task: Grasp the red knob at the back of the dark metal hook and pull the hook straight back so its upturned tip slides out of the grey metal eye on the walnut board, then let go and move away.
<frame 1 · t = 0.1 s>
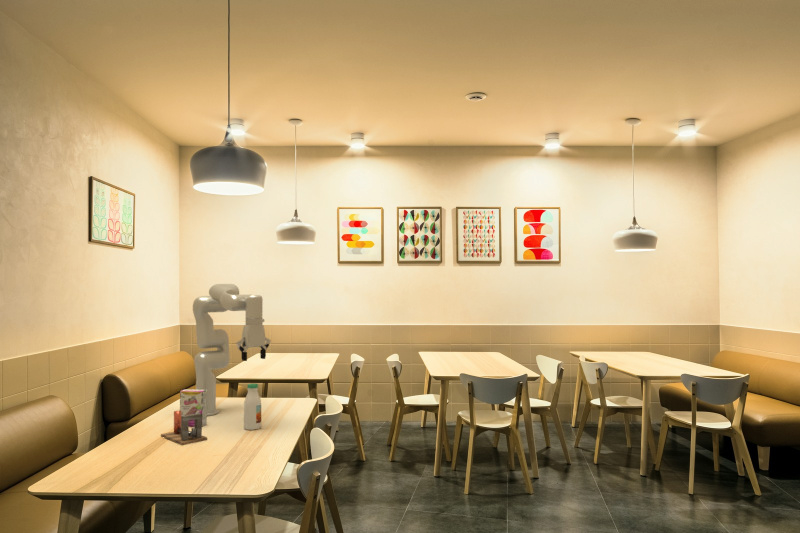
hand: (253, 359, 254), 31 cm above the table, tool pointing down, fingers open, 9 cm apart
eye stand: (183, 438, 237), on the table
milk bottle: (252, 428, 253), on the table
candy bar box: (193, 426, 259), on the table
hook: (185, 424, 237), point 6 cm above the table, slide at 0.0 cm
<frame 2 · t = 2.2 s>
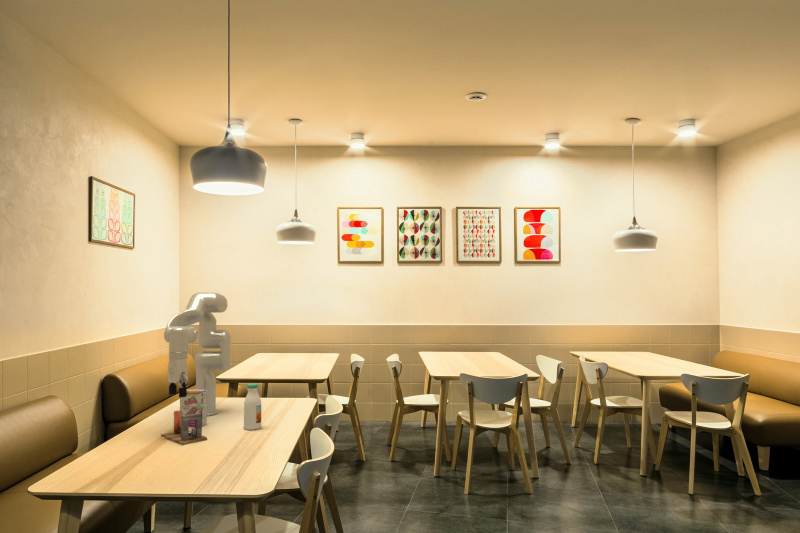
hand: (177, 395, 242), 17 cm above the table, tool pointing down, fingers open, 9 cm apart
nothing on the table moved.
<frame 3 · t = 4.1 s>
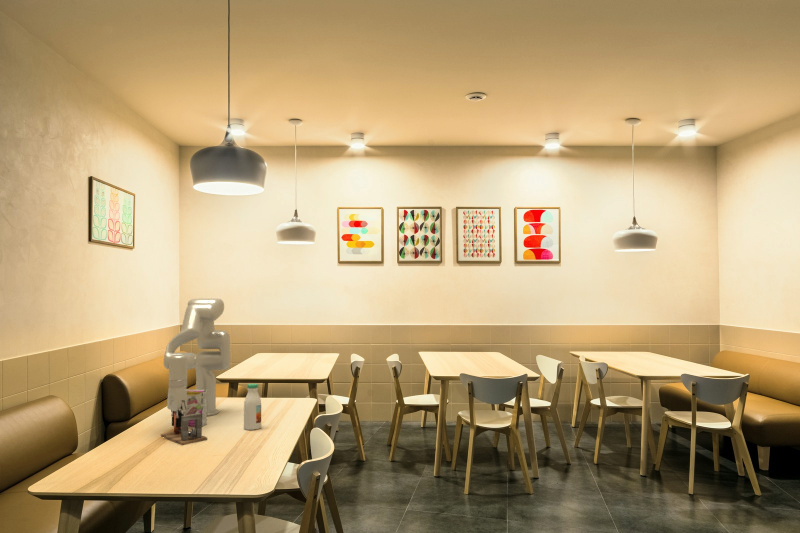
hand: (177, 425, 241), 4 cm above the table, tool pointing down, fingers closed on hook, 3 cm apart
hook: (185, 424, 237), point 6 cm above the table, slide at 0.0 cm, touching gripper
everything else where it was.
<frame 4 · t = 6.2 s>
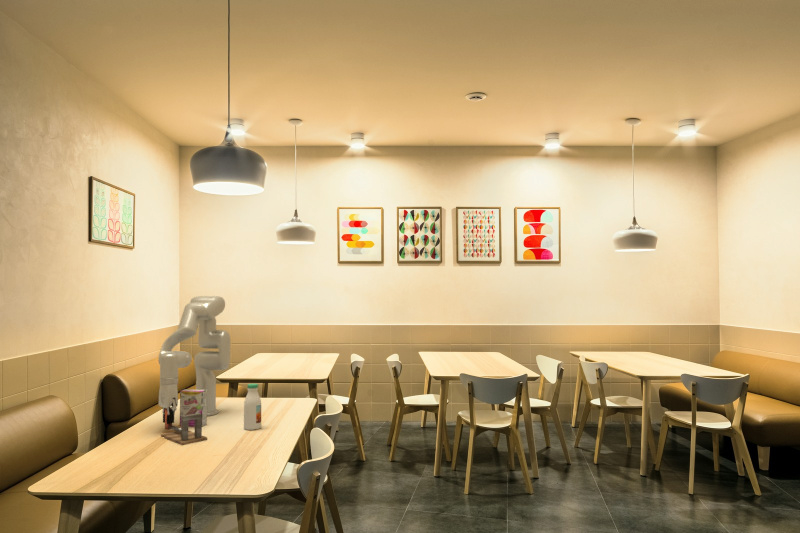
hand: (168, 422, 248), 4 cm above the table, tool pointing down, fingers closed on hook, 3 cm apart
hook: (175, 421, 243), point 6 cm above the table, slide at 9.0 cm, touching gripper
everything else where it was.
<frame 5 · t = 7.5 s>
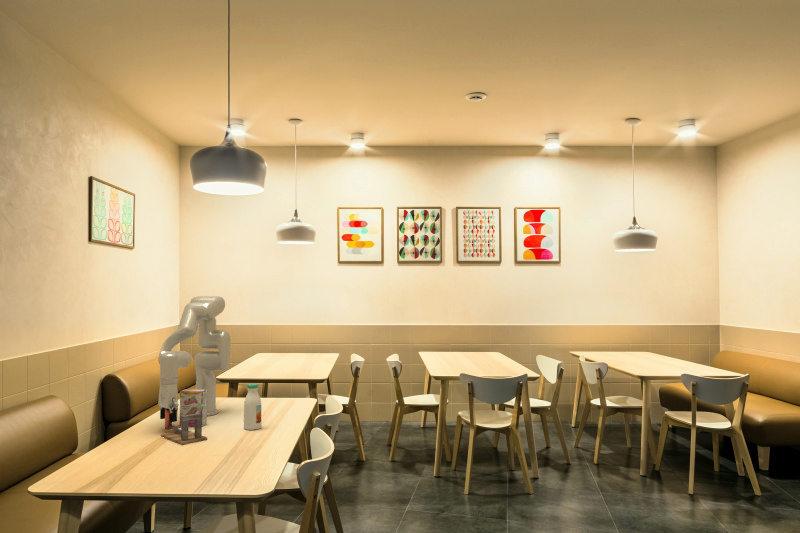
hand: (168, 420, 248), 5 cm above the table, tool pointing down, fingers open, 9 cm apart
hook: (175, 421, 243), point 6 cm above the table, slide at 9.0 cm
everything else where it was.
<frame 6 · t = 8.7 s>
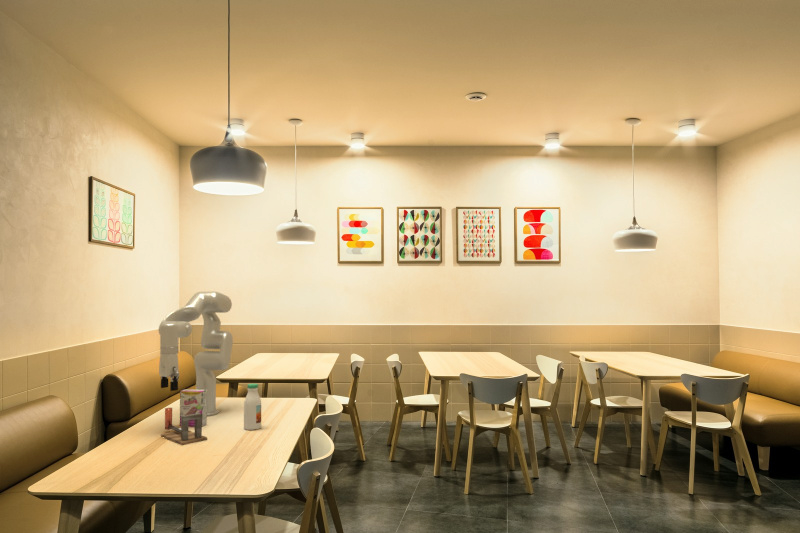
hand: (169, 389, 249), 19 cm above the table, tool pointing down, fingers open, 9 cm apart
nothing on the table moved.
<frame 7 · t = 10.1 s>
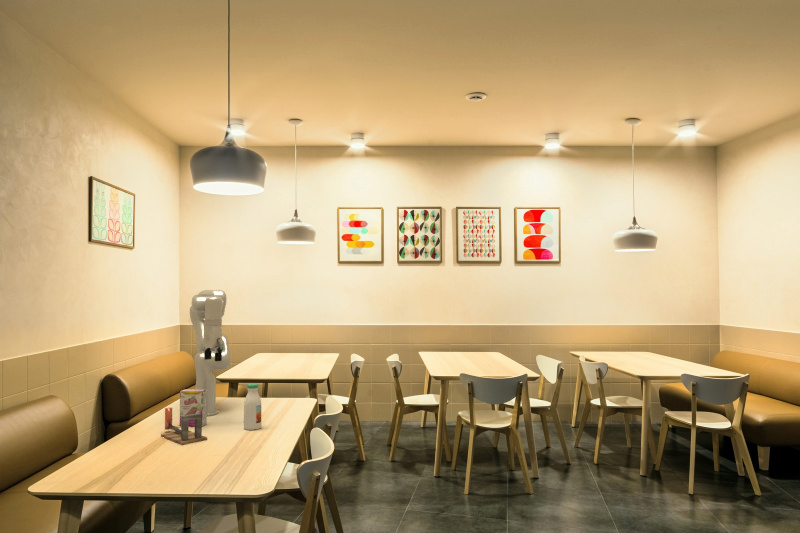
hand: (213, 360, 260), 30 cm above the table, tool pointing down, fingers open, 9 cm apart
nothing on the table moved.
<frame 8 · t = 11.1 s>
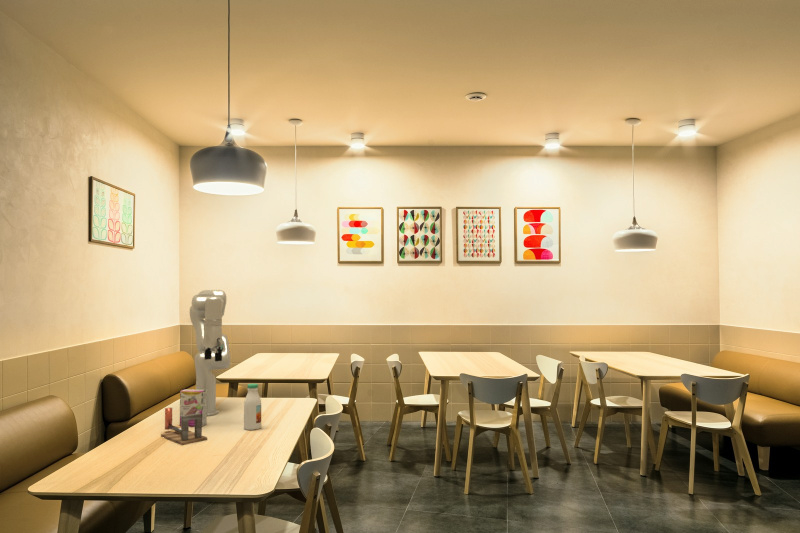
hand: (213, 360, 260), 30 cm above the table, tool pointing down, fingers open, 9 cm apart
nothing on the table moved.
at the end: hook slide at 9.0 cm; the gripper is holding nothing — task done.
